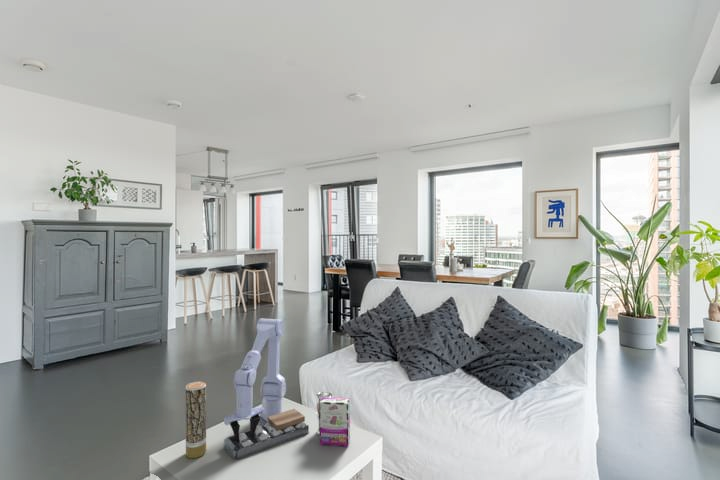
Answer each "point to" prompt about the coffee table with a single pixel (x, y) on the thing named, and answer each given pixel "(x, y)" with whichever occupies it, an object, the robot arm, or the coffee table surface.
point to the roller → (244, 440)
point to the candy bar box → (335, 421)
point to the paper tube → (195, 419)
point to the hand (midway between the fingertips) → (244, 438)
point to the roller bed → (264, 439)
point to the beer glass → (318, 399)
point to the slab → (286, 419)
